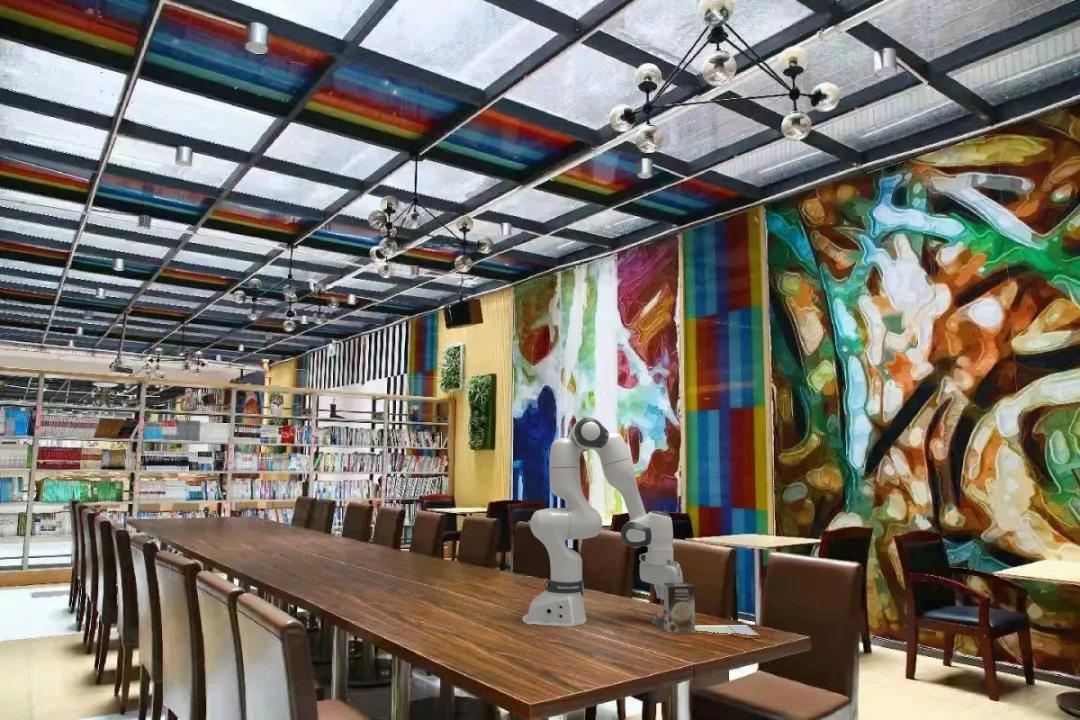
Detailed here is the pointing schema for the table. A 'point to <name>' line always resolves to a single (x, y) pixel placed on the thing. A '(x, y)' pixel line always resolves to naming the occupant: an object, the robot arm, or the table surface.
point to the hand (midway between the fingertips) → (661, 598)
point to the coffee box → (679, 607)
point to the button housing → (657, 621)
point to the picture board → (726, 629)
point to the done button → (660, 615)
